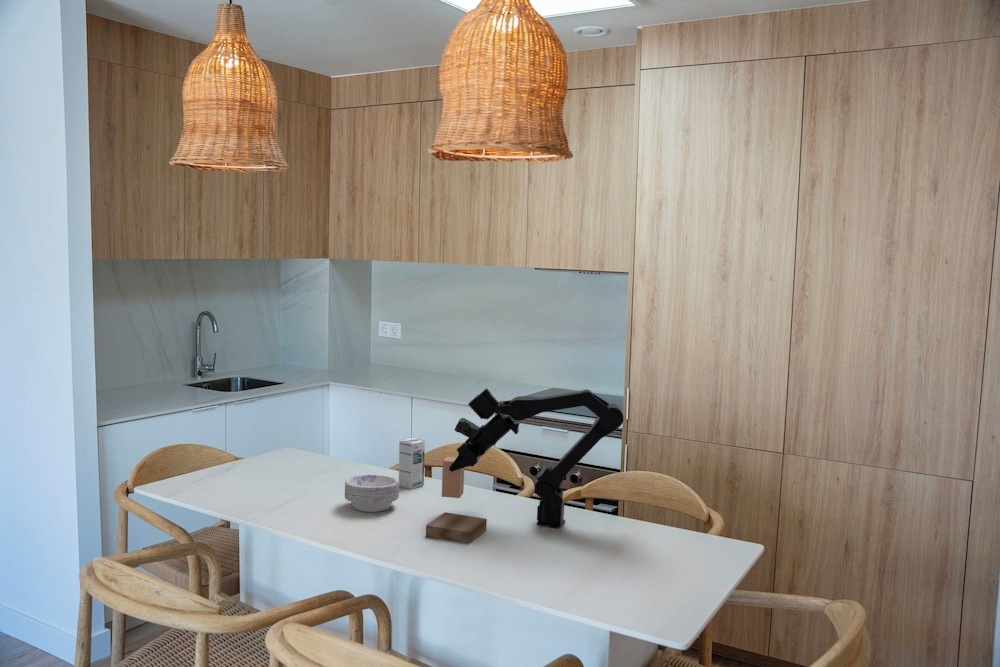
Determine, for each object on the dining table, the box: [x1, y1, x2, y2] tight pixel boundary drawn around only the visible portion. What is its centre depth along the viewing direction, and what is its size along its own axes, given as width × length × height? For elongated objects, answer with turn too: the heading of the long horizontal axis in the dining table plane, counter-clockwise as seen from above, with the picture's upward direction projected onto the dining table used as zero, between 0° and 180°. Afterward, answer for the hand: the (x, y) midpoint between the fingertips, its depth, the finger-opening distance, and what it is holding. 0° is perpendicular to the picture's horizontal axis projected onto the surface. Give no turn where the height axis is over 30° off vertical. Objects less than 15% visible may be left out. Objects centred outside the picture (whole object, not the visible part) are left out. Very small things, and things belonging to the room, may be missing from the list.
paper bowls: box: [344, 474, 400, 513], centre depth 230 cm, size 15×15×8 cm
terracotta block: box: [441, 456, 465, 499], centre depth 225 cm, size 5×5×10 cm
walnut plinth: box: [425, 511, 488, 545], centre depth 212 cm, size 12×12×3 cm
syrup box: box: [398, 437, 426, 490], centre depth 253 cm, size 6×6×14 cm
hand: (452, 467), depth 225 cm, fingers closed on terracotta block, 5 cm apart
